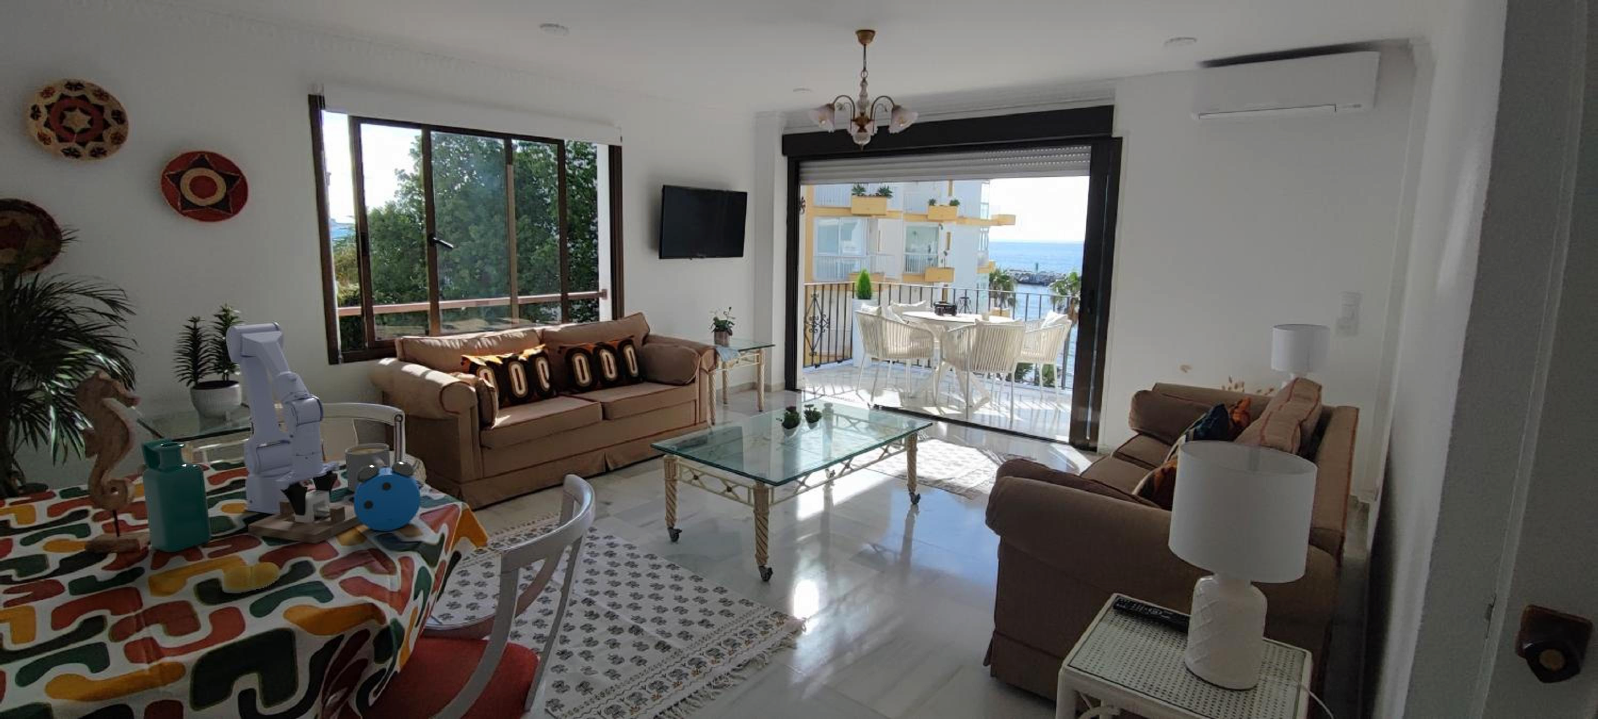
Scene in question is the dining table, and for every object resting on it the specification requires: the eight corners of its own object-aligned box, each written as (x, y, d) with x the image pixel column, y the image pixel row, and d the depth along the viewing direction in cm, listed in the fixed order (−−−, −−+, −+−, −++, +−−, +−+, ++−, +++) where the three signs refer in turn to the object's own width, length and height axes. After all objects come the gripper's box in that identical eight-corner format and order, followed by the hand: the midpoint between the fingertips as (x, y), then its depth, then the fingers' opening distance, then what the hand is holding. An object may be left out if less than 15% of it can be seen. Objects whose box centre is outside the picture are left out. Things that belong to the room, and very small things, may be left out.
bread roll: (280, 587, 145) (278, 567, 144) (221, 598, 140) (219, 578, 139) (280, 570, 151) (278, 551, 151) (224, 580, 146) (222, 561, 146)
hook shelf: (249, 533, 168) (246, 511, 167) (311, 508, 183) (309, 488, 182) (315, 543, 163) (313, 521, 162) (374, 516, 179) (372, 496, 178)
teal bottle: (215, 539, 164) (204, 441, 160) (170, 554, 156) (156, 451, 153) (189, 531, 168) (177, 434, 164) (143, 545, 161) (130, 444, 157)
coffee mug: (344, 484, 200) (341, 447, 198) (386, 476, 206) (384, 441, 204) (355, 498, 190) (351, 459, 188) (398, 490, 196) (396, 453, 194)
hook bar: (284, 508, 174) (284, 502, 173) (290, 506, 175) (289, 500, 175) (335, 515, 170) (334, 509, 170) (340, 513, 172) (339, 507, 171)
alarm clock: (421, 517, 179) (417, 456, 176) (422, 527, 173) (418, 463, 171) (356, 527, 172) (351, 463, 170) (356, 537, 167) (350, 471, 164)
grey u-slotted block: (295, 521, 171) (292, 497, 170) (316, 512, 176) (314, 489, 175) (309, 523, 170) (307, 499, 169) (330, 514, 175) (328, 491, 174)
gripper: (292, 463, 162) (298, 523, 165) (348, 444, 176) (352, 500, 179) (265, 459, 164) (272, 519, 166) (323, 441, 178) (328, 497, 180)
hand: (312, 509), depth 173 cm, fingers closed on grey u-slotted block, 6 cm apart
